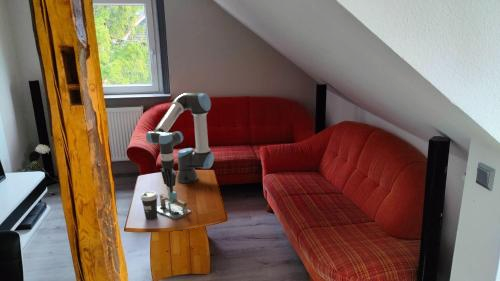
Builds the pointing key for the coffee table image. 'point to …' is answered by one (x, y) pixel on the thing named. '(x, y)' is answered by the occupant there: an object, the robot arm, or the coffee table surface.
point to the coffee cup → (150, 205)
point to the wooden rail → (183, 204)
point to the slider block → (172, 198)
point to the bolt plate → (174, 213)
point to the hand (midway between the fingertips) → (170, 195)
